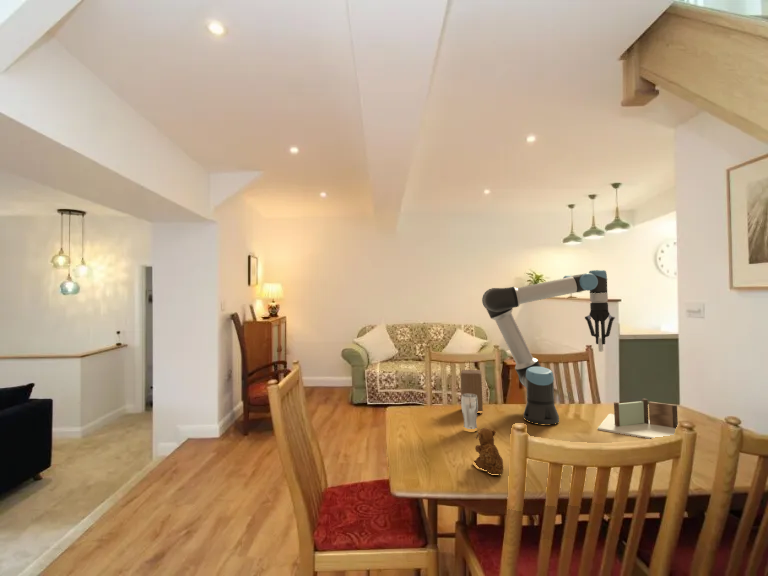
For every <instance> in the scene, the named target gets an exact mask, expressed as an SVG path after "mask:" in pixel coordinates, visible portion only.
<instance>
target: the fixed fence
mask: <svg viewBox="0 0 768 576" xmlns="http://www.w3.org/2000/svg"><path fill="white" fill-rule="evenodd" d="M641 401H642V402H643V404H644V423H645V424H649V421H650V424H653V425H659V426H666V427H672V428H676V427H677V425H678V424H679V423H678V422H679V421H678V405H676V404H671V403H664V402H655V401H649V399H647V398H642V399H641Z"/></svg>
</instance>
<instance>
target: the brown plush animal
mask: <svg viewBox="0 0 768 576" xmlns="http://www.w3.org/2000/svg"><path fill="white" fill-rule="evenodd" d="M496 434H497V431H496V430H491V429H490V428H486V427H484V428H481V430H480V431H479V432H478V431H477V432H476V436H474V439H475V440H477V439H478V442H479V444H476V445H475V446H474V448H475V452H477V453H478V454H479V455H478V457H477V458H475V459H476V460H473V461H474V462H475V463H476V465H477V466H478V467H479V468H482V469H484V470H487V472H489V473H491V474H501V475H502V474H504V473H503V472H504V460H503V458H502V456H501V454H500V452H499V449H498V448H497V446H496V445H495V439H494V437H495V436H496ZM487 472H486V473H487Z"/></svg>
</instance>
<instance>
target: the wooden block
mask: <svg viewBox="0 0 768 576" xmlns="http://www.w3.org/2000/svg"><path fill="white" fill-rule="evenodd" d="M482 383H483V379H482V371H481V369H462V370H461V372H460V390H461V391H460V393H461V398H462V394H475V395H477V401H478V411H484V410H483V409H484V408H483V384H482Z"/></svg>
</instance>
